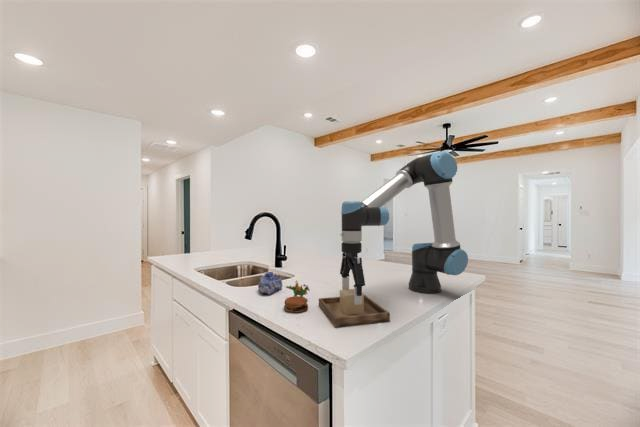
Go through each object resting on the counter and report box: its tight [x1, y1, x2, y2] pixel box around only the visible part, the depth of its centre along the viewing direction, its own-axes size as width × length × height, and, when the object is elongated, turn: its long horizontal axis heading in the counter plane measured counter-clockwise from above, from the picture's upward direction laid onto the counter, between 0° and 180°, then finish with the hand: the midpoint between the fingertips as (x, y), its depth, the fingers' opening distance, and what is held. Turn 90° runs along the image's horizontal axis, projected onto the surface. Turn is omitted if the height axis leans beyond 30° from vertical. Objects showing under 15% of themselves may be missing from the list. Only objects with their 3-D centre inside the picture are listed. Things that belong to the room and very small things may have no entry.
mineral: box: [257, 271, 283, 295], centre depth 131 cm, size 14×10×10 cm
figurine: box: [285, 280, 310, 297], centre depth 120 cm, size 3×12×8 cm, turn 69°
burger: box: [283, 295, 309, 313], centre depth 107 cm, size 10×9×5 cm
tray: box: [318, 294, 391, 329], centre depth 103 cm, size 20×22×3 cm
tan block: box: [339, 288, 365, 315], centre depth 103 cm, size 7×7×7 cm
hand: (351, 298), depth 103 cm, fingers open, 12 cm apart
